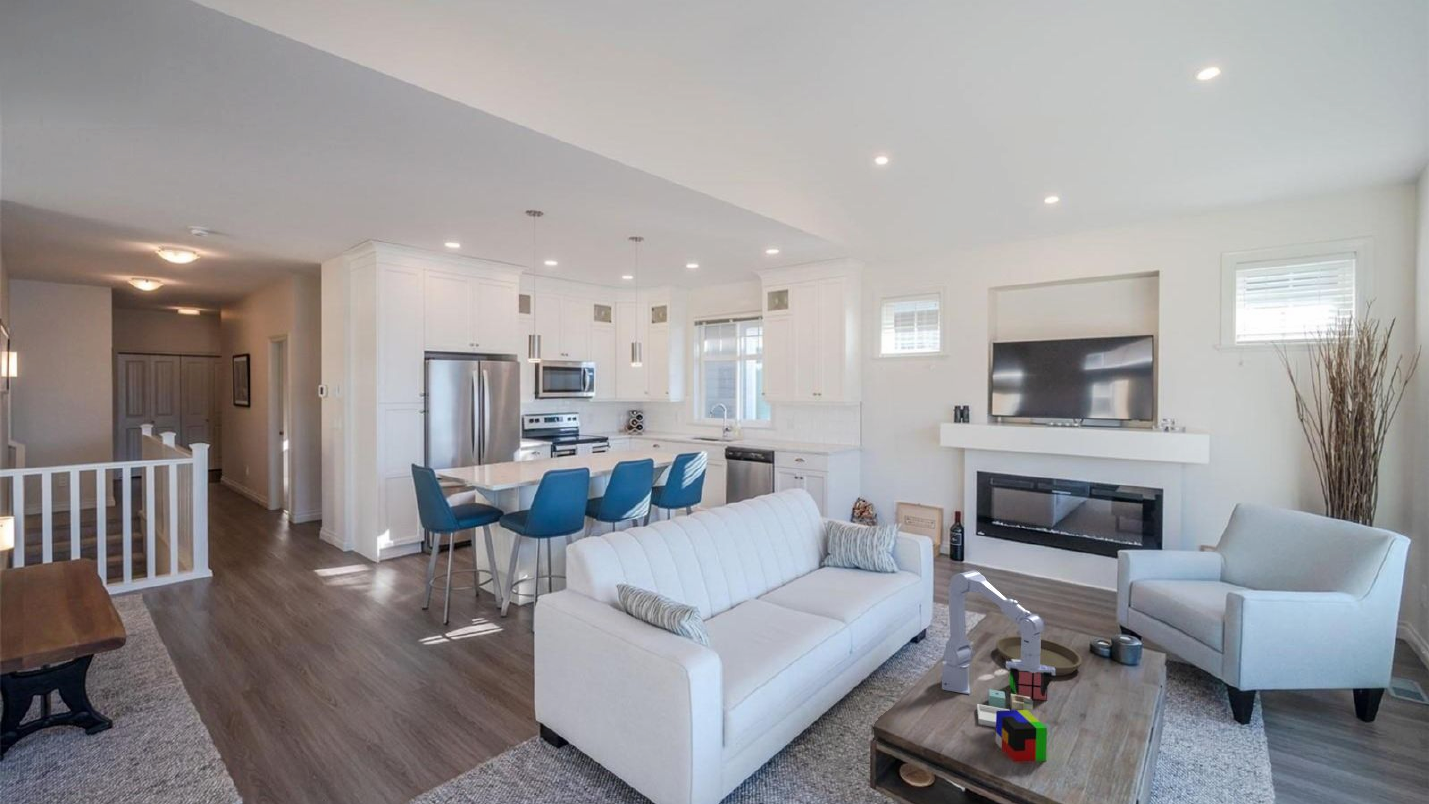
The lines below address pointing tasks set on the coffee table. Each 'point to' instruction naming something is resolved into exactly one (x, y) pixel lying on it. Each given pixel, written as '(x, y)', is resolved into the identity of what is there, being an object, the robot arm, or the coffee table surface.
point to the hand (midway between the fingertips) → (1029, 692)
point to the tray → (988, 714)
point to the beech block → (1017, 702)
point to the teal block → (996, 698)
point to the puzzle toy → (1021, 735)
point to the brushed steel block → (1028, 705)
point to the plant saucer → (1042, 654)
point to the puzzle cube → (1028, 684)
